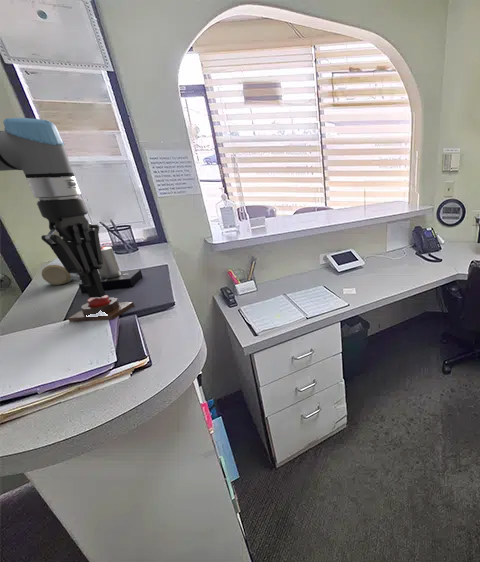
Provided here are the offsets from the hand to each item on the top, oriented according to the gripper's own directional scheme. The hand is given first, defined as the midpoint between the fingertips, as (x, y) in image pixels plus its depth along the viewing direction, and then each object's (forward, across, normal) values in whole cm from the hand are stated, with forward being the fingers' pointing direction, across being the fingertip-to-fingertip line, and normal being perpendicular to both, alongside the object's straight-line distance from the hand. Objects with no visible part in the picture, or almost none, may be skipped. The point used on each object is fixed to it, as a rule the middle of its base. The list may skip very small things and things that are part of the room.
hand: (97, 296), depth 76 cm
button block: (+6, 0, 0) cm, 6 cm away
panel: (+6, +24, +14) cm, 28 cm away
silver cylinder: (+3, +24, +14) cm, 28 cm away
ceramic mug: (+6, +30, +32) cm, 44 cm away
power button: (+2, 0, 0) cm, 2 cm away
